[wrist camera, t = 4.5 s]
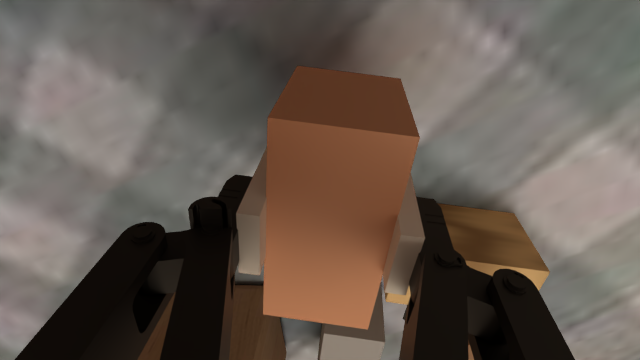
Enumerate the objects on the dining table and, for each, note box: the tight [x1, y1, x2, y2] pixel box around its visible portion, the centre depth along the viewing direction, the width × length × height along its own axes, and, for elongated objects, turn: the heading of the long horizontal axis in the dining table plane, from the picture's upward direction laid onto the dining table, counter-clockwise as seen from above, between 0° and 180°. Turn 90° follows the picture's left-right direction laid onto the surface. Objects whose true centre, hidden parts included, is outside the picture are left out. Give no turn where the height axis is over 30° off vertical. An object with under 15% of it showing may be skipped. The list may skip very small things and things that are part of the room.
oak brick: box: [385, 203, 550, 305], centre depth 26 cm, size 9×4×6 cm, turn 85°
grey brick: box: [318, 283, 385, 360], centre depth 31 cm, size 9×4×6 cm, turn 175°
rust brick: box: [263, 66, 420, 330], centre depth 16 cm, size 9×4×6 cm, turn 174°
